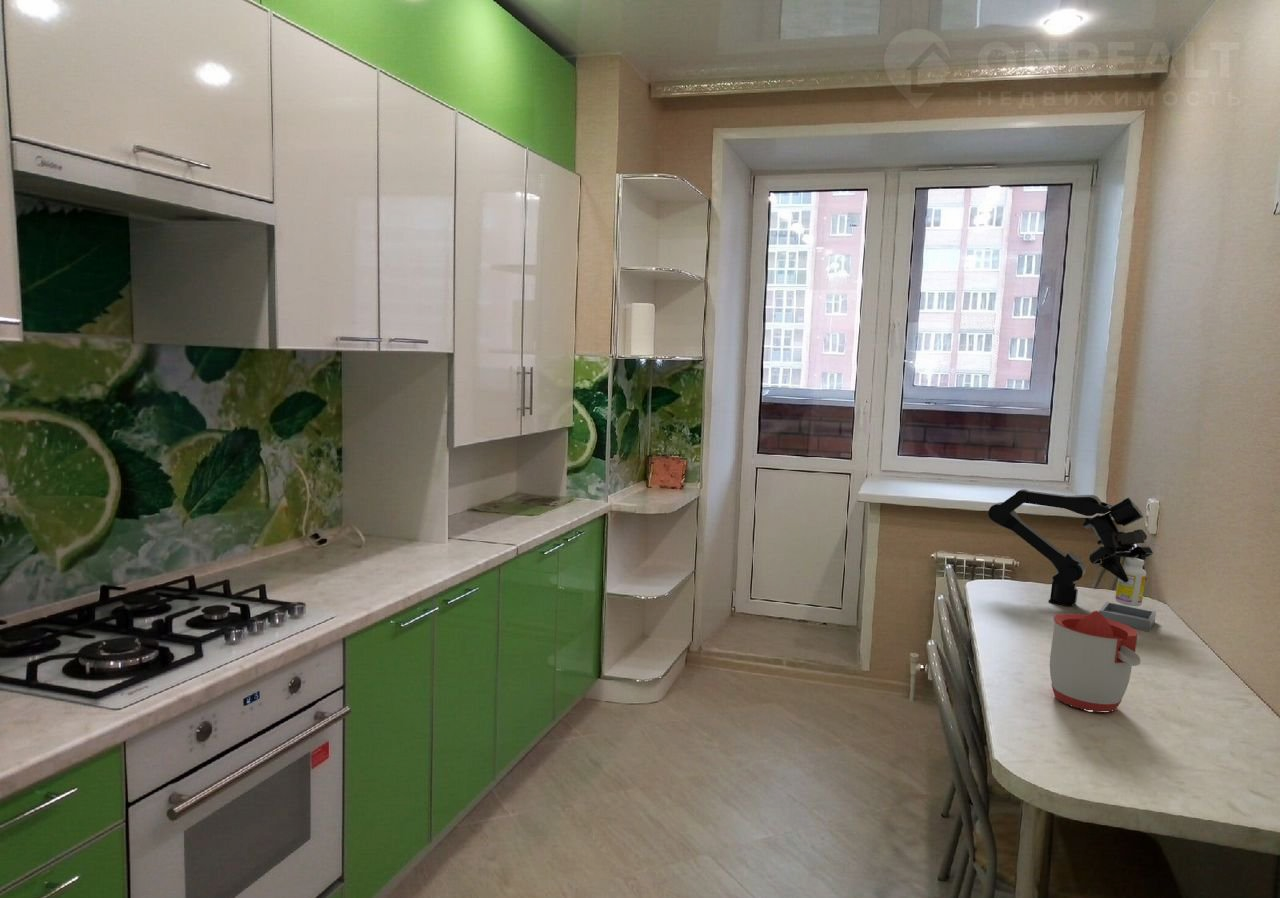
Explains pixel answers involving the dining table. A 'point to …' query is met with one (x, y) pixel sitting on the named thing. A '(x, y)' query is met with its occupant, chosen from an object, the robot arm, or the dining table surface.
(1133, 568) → the supplement bottle
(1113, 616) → the tray
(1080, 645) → the citrus juicer
